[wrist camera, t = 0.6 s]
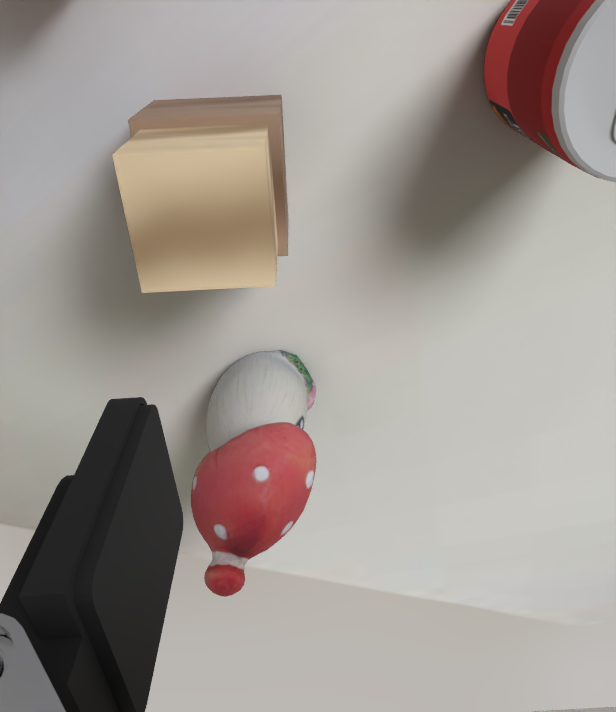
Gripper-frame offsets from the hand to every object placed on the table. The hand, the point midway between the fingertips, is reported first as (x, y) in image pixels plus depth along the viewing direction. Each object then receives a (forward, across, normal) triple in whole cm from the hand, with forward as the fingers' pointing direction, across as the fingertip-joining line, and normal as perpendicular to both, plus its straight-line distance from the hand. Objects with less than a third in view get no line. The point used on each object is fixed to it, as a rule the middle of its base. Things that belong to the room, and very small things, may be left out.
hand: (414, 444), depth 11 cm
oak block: (+21, +6, +1) cm, 22 cm away
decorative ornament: (+27, +6, +17) cm, 32 cm away
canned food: (+27, -12, -4) cm, 30 cm away
